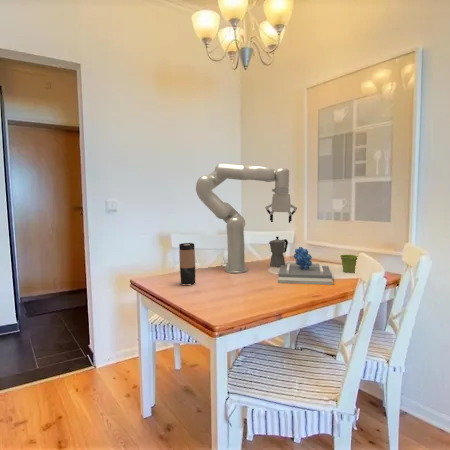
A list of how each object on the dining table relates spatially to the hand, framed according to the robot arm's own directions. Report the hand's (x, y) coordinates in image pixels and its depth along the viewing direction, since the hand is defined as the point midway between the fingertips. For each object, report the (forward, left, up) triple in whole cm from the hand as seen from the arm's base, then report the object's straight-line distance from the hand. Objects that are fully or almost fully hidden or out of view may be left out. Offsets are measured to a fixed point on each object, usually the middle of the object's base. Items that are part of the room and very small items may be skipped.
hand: (280, 222), depth 188 cm
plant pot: (+37, +5, -28) cm, 47 cm away
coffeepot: (-2, +16, -28) cm, 33 cm away
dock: (+13, -9, -28) cm, 32 cm away
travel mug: (-44, -31, -28) cm, 61 cm away
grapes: (+11, -6, -25) cm, 28 cm away
